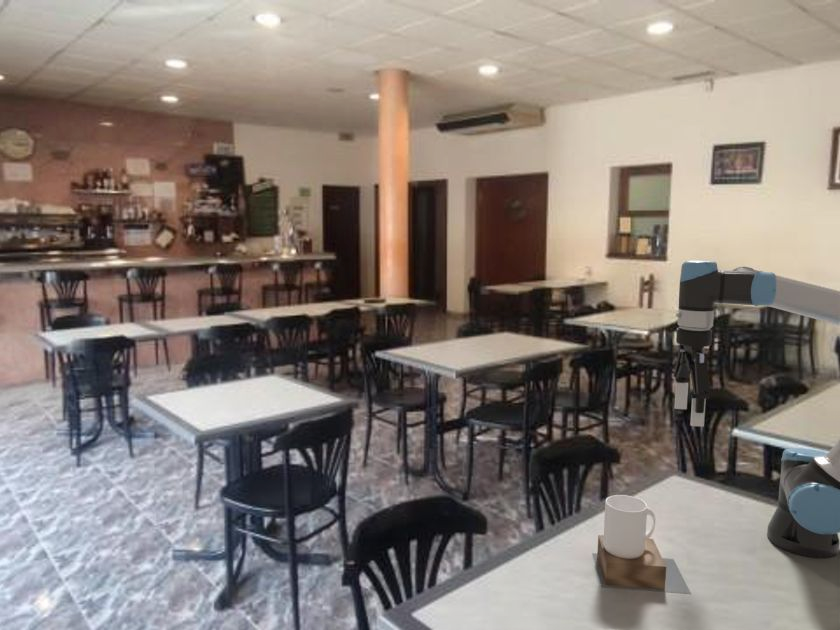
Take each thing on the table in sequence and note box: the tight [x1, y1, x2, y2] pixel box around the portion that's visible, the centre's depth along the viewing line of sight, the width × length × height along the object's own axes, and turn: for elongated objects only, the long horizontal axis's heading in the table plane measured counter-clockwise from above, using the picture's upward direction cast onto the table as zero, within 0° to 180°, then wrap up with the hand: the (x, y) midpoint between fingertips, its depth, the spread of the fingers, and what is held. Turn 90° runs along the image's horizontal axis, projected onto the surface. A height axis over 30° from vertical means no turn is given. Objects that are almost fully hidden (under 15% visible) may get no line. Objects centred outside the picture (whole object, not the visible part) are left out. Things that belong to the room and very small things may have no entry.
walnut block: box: [596, 534, 666, 589], centre depth 140 cm, size 12×12×5 cm
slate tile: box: [591, 552, 692, 595], centre depth 140 cm, size 18×14×1 cm
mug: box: [603, 494, 656, 559], centre depth 139 cm, size 9×12×11 cm
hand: (688, 417), depth 150 cm, fingers open, 13 cm apart
